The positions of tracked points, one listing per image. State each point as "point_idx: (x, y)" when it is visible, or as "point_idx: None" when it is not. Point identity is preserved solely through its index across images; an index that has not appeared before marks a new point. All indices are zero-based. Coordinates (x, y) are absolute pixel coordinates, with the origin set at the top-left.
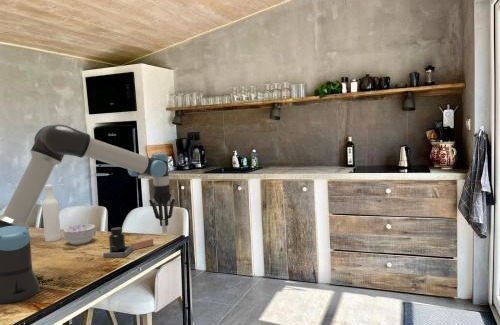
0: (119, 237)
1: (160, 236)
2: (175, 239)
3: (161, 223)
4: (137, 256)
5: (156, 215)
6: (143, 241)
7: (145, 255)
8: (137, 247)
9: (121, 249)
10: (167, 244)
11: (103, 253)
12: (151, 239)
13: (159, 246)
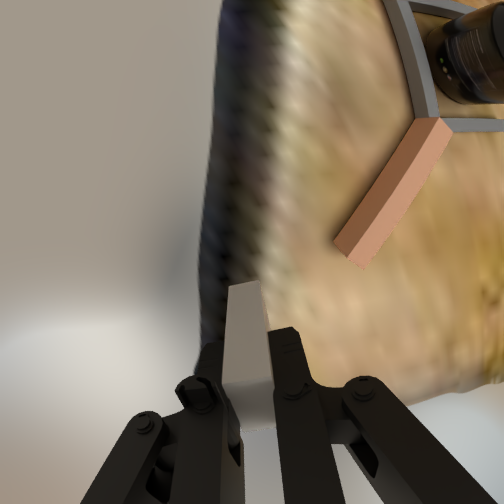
0: (495, 5)
1: None
2: None
3: (281, 350)
4: (318, 4)
5: (379, 418)
6: (395, 188)
7: (274, 21)
8: (404, 144)
9: (442, 30)
10: (240, 271)
11: None
12: (355, 245)
13: (276, 220)
